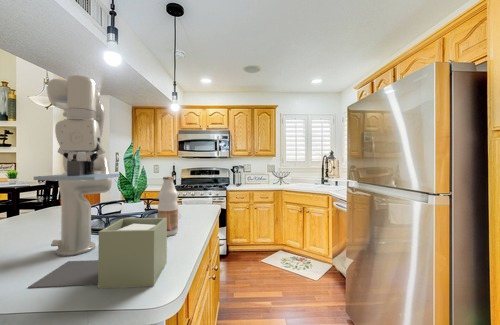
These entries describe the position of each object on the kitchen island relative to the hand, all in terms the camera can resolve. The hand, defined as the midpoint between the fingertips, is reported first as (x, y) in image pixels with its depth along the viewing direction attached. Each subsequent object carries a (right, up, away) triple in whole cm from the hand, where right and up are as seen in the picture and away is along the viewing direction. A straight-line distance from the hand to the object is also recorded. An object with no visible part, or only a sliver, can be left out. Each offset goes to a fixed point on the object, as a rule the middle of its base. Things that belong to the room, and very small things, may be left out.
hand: (81, 173), depth 75 cm
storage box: (+18, -32, -1) cm, 37 cm away
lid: (0, -2, 0) cm, 2 cm away
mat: (0, -32, 0) cm, 32 cm away
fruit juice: (+13, -32, +41) cm, 54 cm away
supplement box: (+18, -32, -1) cm, 37 cm away
